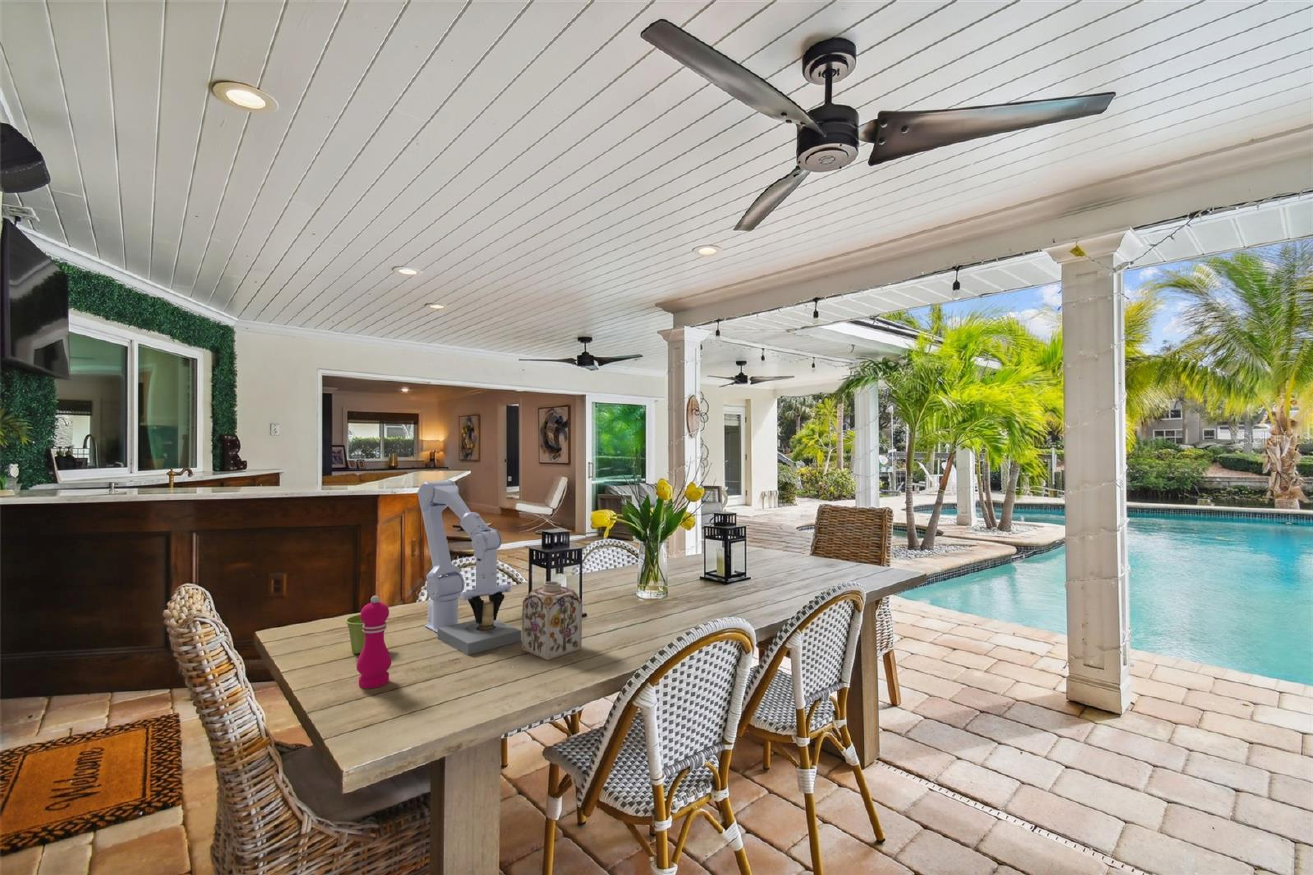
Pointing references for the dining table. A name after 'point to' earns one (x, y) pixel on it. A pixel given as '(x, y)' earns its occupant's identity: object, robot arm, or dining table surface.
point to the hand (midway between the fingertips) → (485, 621)
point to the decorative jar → (552, 621)
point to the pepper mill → (374, 646)
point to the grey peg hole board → (478, 636)
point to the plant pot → (356, 633)
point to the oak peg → (487, 616)
